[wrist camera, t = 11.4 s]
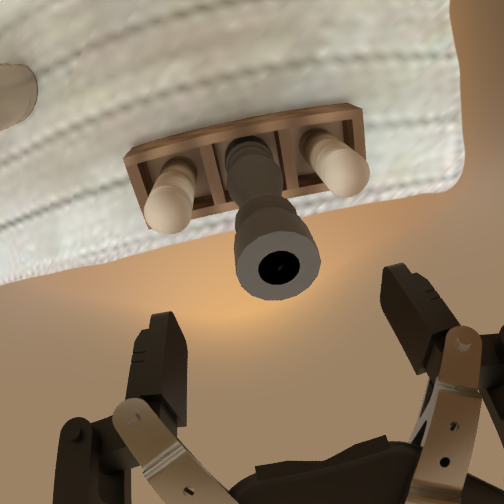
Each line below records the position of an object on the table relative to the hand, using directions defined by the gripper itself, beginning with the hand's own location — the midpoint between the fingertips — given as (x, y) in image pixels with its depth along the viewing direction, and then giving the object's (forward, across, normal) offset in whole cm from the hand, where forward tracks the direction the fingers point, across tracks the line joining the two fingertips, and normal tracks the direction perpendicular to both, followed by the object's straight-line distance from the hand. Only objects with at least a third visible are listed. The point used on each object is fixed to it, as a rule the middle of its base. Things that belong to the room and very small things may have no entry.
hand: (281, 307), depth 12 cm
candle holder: (+34, -1, +5) cm, 34 cm away
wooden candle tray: (+34, -1, +5) cm, 35 cm away
